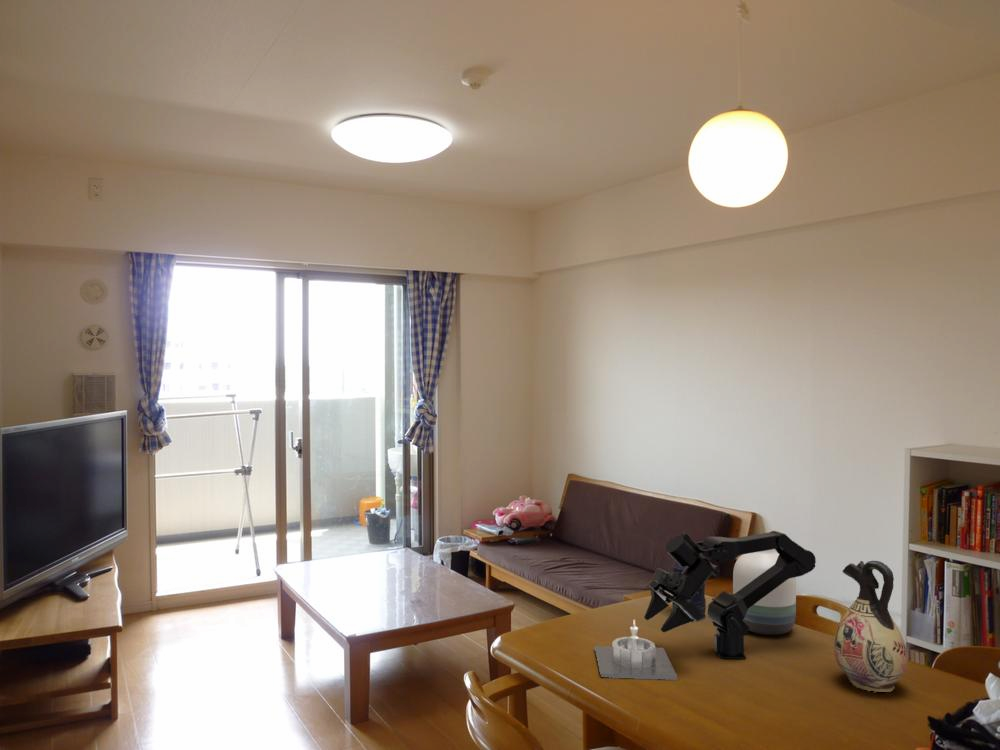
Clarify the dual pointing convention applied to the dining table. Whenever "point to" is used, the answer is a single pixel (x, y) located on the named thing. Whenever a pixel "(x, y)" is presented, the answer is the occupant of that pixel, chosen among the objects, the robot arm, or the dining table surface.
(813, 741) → the dining table surface
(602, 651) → the duct collar
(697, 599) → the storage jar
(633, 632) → the chess piece
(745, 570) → the vase
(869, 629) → the ceramic jug
